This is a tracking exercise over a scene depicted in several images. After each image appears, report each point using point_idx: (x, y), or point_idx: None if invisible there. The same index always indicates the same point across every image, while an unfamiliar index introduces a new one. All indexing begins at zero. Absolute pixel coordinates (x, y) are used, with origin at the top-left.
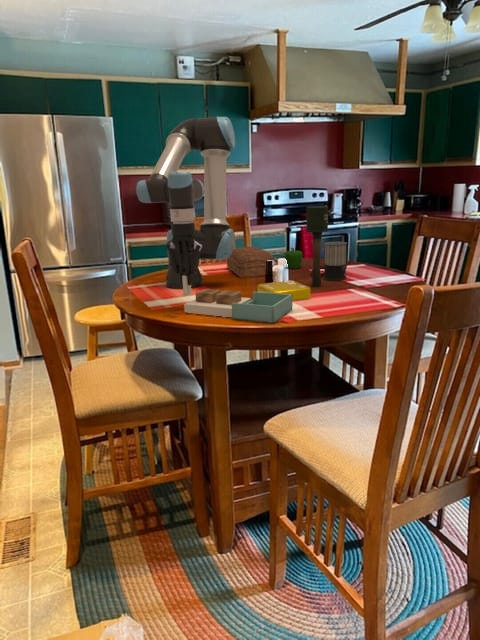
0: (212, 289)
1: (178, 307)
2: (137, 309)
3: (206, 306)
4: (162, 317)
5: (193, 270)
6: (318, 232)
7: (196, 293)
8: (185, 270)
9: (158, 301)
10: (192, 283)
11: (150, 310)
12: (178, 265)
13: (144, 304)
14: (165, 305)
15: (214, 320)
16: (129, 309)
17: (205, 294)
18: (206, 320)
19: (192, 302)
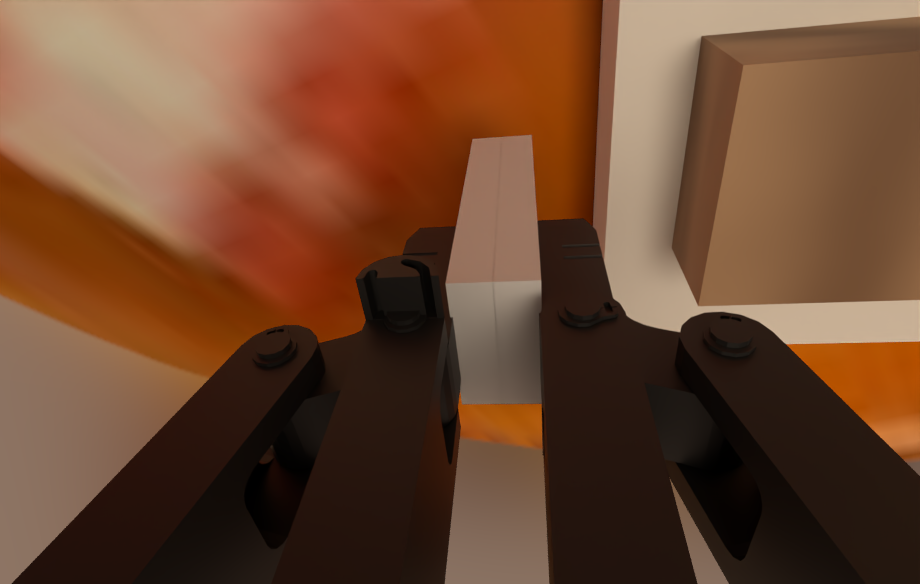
0: (906, 53)
1: (416, 168)
2: (179, 325)
3: (848, 341)
4: (494, 408)
5: (751, 497)
6: None
7: (711, 302)
8: (442, 373)
9: (48, 49)
10: (591, 233)
11: (283, 316)
12: (225, 468)
13: (68, 198)
14: (252, 155)
15: (909, 364)
16: (134, 342)
17: (845, 296)
18: (842, 378)
19: (646, 278)
